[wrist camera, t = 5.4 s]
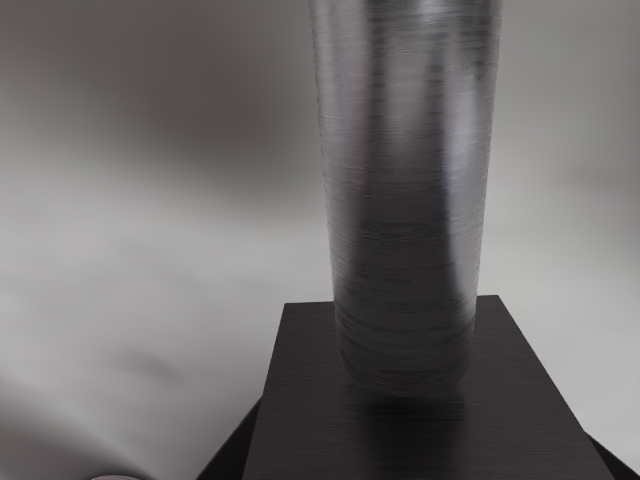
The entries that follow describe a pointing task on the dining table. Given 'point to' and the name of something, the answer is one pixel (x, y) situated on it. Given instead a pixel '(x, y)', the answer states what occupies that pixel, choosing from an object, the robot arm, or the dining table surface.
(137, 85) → the dining table surface
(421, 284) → the shaft
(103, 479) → the beverage can
